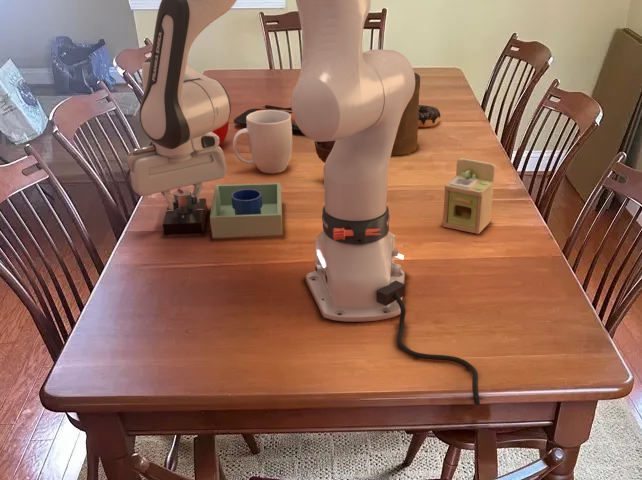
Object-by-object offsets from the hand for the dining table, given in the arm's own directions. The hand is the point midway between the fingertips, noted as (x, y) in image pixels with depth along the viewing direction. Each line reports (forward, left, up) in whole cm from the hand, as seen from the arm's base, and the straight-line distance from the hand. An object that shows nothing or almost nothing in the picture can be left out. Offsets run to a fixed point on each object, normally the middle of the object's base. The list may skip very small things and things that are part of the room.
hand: (184, 205), depth 151 cm
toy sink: (-6, -61, -4) cm, 61 cm away
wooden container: (+45, -50, -4) cm, 68 cm away
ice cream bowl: (+21, -35, -4) cm, 41 cm away
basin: (0, -14, -4) cm, 14 cm away
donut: (+65, -63, -4) cm, 90 cm away
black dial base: (0, 0, -4) cm, 4 cm away
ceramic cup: (+48, -2, -4) cm, 48 cm away
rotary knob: (0, 0, -1) cm, 1 cm away
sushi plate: (+73, -26, -4) cm, 77 cm away
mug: (+31, -18, -4) cm, 36 cm away
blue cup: (0, -14, -4) cm, 14 cm away
